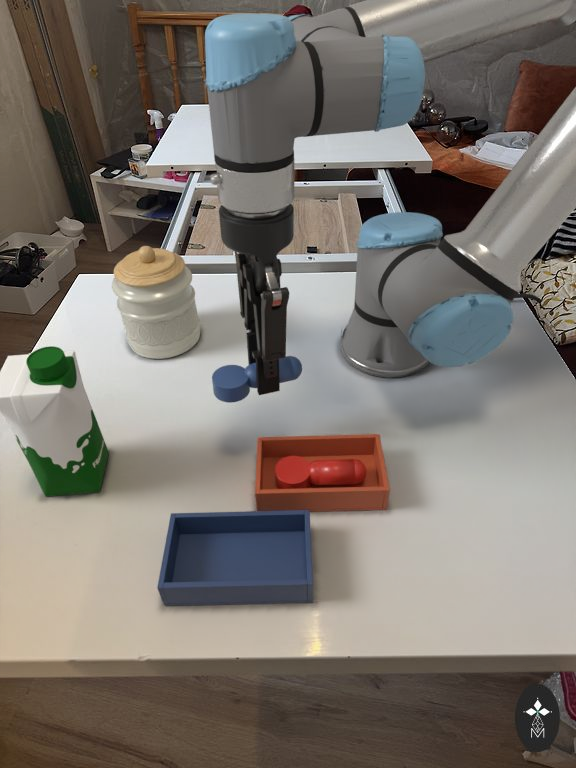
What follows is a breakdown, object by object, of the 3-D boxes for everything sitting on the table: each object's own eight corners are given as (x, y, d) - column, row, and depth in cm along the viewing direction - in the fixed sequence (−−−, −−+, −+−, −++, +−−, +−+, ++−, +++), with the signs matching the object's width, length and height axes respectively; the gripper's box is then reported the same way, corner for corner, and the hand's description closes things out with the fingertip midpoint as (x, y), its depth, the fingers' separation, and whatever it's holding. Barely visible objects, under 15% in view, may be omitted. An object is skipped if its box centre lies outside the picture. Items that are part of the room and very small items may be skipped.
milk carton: (106, 497, 69) (57, 381, 56) (35, 503, 69) (-32, 388, 55) (116, 446, 75) (75, 332, 62) (52, 452, 75) (-4, 338, 62)
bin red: (376, 453, 73) (379, 433, 71) (386, 509, 66) (390, 490, 64) (259, 456, 73) (257, 437, 71) (257, 513, 66) (254, 493, 64)
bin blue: (309, 529, 64) (309, 509, 62) (312, 602, 58) (313, 584, 55) (176, 532, 65) (170, 513, 62) (164, 606, 58) (157, 587, 55)
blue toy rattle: (295, 364, 71) (295, 345, 69) (307, 386, 68) (308, 366, 66) (210, 383, 69) (207, 363, 67) (218, 406, 65) (216, 386, 63)
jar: (149, 371, 88) (125, 277, 76) (115, 335, 96) (88, 245, 84) (215, 340, 94) (202, 248, 82) (178, 309, 102) (161, 221, 90)
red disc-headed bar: (363, 465, 71) (365, 449, 69) (367, 493, 68) (369, 477, 65) (276, 467, 71) (275, 451, 69) (275, 495, 68) (274, 480, 66)
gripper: (202, 180, 58) (221, 351, 73) (240, 244, 46) (253, 431, 62) (268, 171, 60) (272, 340, 75) (320, 231, 48) (313, 416, 63)
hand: (264, 381), depth 68 cm, fingers closed on blue toy rattle, 3 cm apart
